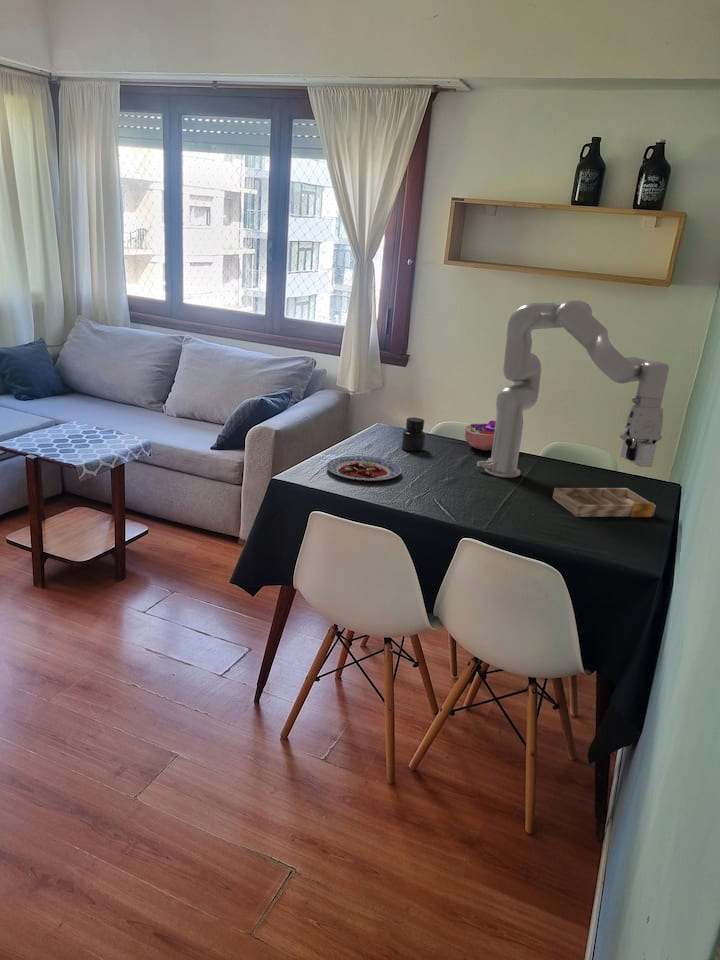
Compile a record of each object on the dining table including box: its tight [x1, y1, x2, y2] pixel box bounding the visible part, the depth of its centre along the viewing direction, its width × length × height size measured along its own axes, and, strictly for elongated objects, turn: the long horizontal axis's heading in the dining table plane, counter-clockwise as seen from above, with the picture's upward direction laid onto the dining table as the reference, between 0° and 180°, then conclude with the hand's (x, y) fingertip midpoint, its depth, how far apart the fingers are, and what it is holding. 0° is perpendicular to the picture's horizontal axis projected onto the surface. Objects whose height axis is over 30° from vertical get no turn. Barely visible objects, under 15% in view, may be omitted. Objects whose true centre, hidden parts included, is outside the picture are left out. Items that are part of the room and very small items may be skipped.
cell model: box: [464, 420, 496, 452], centre depth 268 cm, size 17×20×11 cm
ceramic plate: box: [326, 455, 402, 482], centre depth 230 cm, size 26×26×3 cm
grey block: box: [620, 436, 657, 468], centre depth 209 cm, size 4×11×7 cm, turn 11°
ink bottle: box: [401, 417, 426, 452], centre depth 260 cm, size 10×9×12 cm
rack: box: [552, 487, 657, 518], centre depth 213 cm, size 26×17×4 cm, turn 101°
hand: (636, 458), depth 210 cm, fingers closed on grey block, 4 cm apart
